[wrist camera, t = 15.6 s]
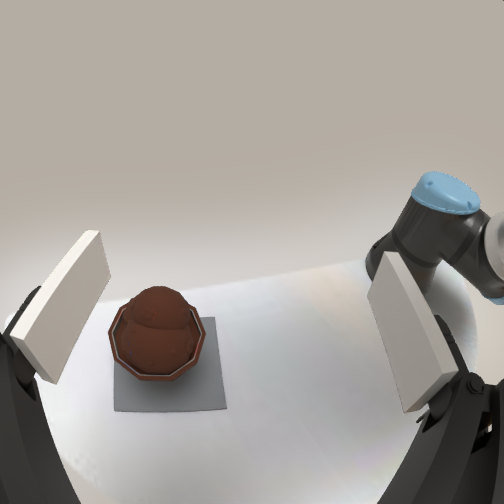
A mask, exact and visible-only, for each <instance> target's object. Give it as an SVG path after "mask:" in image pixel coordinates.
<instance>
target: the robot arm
mask: <svg viewBox="0 0 504 504" xmlns="http://www.w3.org/2000/svg"><path fill="white" fill-rule="evenodd" d="M503 1H504V0H503ZM442 259H443V260H444V261H446V262H447V263H448V264H449V265H450V266H452V267H453V268H454V269H455V270H456V271H458V272H459V273H460V274H461V275H462V276H463V277H464V278H466V279H467V280H468V281H469V282H470V283H471V284H472V285H473V286H475V287H476V288H477V289H478V290H479V291H480V293H481V294H482V295H483V296H484V297H485V298H487V299H489V300H490V301H491V302H493V303H494V304H497V305H504V212H500V213H497V214H495V215H494V216H493V217H492V218H491V217H489V216H488V215H487V214H486V213H485V212H483V211H482V210H481V209H480V199H479V197H478V195H477V194H476V193H475V192H474V191H473V190H471V188H470V187H469V186H468V185H466V184H465V183H463V182H462V181H460V180H459V179H457V178H455V177H453V176H450V175H448V174H445V173H441V172H435V171H434V172H428V173H425V174H424V175H423V176H422V177H421V178H420V180H419V182H418V183H417V185H416V187H415V188H414V189H413V190H412V192H411V197H410V198H409V200H408V202H407V204H406V206H405V208H404V209H403V211H402V213H401V215H400V216H399V218H398V220H397V222H396V223H395V225H394V227H393V229H392V230H391V231H390V232H389V233H387V234H386V235H385V236H384V237H382V238H381V239H380V240H379V241H377V242H376V243H375V244H374V245H373V246H372V248H371V249H370V251H369V253H368V254H367V257H366V268H367V271H368V274H369V276H370V278H371V280H372V281H373V282H372V285H371V287H370V290H369V292H368V295H367V297H368V300H369V303H370V305H371V308H372V311H373V314H374V316H375V319H376V322H377V325H378V328H379V331H380V334H381V337H382V340H383V343H384V346H385V349H386V352H387V355H388V358H389V361H390V365H391V368H392V371H393V375H394V378H395V382H396V385H397V389H398V392H399V396H400V400H401V403H402V407H403V411H404V413H407V412H412V411H417V410H420V409H421V408H422V407H423V406H425V405H426V404H427V403H428V405H429V408H430V409H429V410H428V411H426V412H425V413H424V414H423V415H422V416H421V417H420V418H418V420H417V421H416V422H417V423H419V422H420V421H421V420H422V419H423V421H422V423H421V425H420V427H419V430H418V432H417V434H416V436H415V438H414V440H413V442H412V444H411V446H410V448H409V450H408V452H407V454H406V456H405V458H404V460H403V462H402V463H401V465H400V467H399V469H398V471H397V472H396V474H395V476H394V478H393V479H392V481H391V483H390V484H389V486H388V487H387V489H386V491H385V492H384V494H383V495H382V497H381V498H380V500H379V501H378V503H377V504H504V379H503V380H501V381H500V382H499V383H498V384H497V385H489V384H485V383H484V381H483V380H482V378H481V377H479V376H478V375H477V374H475V373H472V372H470V373H469V371H468V369H467V366H466V364H465V362H464V359H463V357H462V355H461V353H460V351H459V348H458V346H457V344H456V343H455V340H454V338H453V336H452V335H451V332H450V330H449V328H448V326H447V324H446V323H445V322H444V321H443V319H442V318H441V317H440V316H439V315H433V314H432V312H431V310H430V308H429V306H428V304H427V302H426V300H425V298H424V297H423V295H424V294H425V293H426V292H427V291H428V289H429V287H430V283H431V281H432V278H433V276H434V273H435V270H436V267H437V266H438V264H439V263H440V262H441V260H442ZM110 278H111V275H110V271H109V267H108V263H107V260H106V256H105V252H104V248H103V244H102V240H101V235H100V231H91V230H86V232H85V233H84V234H83V235H82V236H81V237H80V239H79V240H78V241H77V242H76V243H75V244H74V246H73V247H72V248H71V249H70V250H69V252H68V253H67V254H66V255H65V257H64V258H63V259H62V260H61V262H60V263H59V264H58V265H57V267H56V268H55V269H54V271H53V272H52V273H51V274H50V276H49V277H48V278H47V280H46V281H45V282H44V284H43V285H42V286H38V287H37V288H36V289H34V290H33V291H32V292H31V293H30V294H29V295H28V297H27V298H26V300H25V301H24V303H23V304H22V306H21V307H20V309H19V310H18V311H17V313H16V314H15V316H14V317H13V319H12V320H11V322H10V323H9V325H8V327H7V328H6V330H5V331H4V333H3V334H1V333H0V504H81V503H80V501H79V499H78V497H77V495H76V493H75V491H74V489H73V487H72V485H71V483H70V480H69V478H68V476H67V474H66V471H65V469H64V467H63V465H62V462H61V460H60V457H59V454H58V452H57V449H56V446H55V444H54V441H53V438H52V435H51V432H50V429H49V426H48V423H47V420H46V416H45V413H44V409H43V406H42V402H41V398H40V394H39V390H38V386H37V382H36V380H35V378H34V375H35V373H36V372H37V373H38V374H39V376H40V377H41V378H42V379H43V380H45V381H48V382H50V383H53V384H56V385H57V383H58V380H59V378H60V376H61V374H62V371H63V369H64V367H65V365H66V362H67V360H68V358H69V356H70V354H71V352H72V350H73V348H74V346H75V343H76V341H77V339H78V337H79V335H80V333H81V331H82V329H83V327H84V325H85V324H86V322H87V320H88V318H89V316H90V314H91V312H92V310H93V308H94V307H95V305H96V303H97V301H98V299H99V297H100V296H101V294H102V292H103V290H104V289H105V287H106V285H107V283H108V282H109V280H110ZM491 424H492V431H490V432H488V427H489V426H490V425H491Z"/></svg>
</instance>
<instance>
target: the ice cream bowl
mask: <svg viewBox="0 0 504 504" xmlns="http://www.w3.org/2000/svg"><path fill="white" fill-rule="evenodd" d="M108 335H109V340H110V344H111V349H112V353H113V357H114V360H115V361H116V362H117V363H119V364H120V365H121V366H122V367H123V368H125V369H126V370H127V371H129V372H130V373H131V374H132V375H134V376H135V377H136V378H138V379H139V380H141V381H174V380H175V379H177V378H178V377H180V376H181V375H183V374H184V373H185V372H186V371H188V370H189V369H191V368H192V367H194V366H195V365H196V364H197V362H198V359H199V356H200V352H201V349H202V346H203V343H204V339H205V336H206V332H205V329H204V327H203V325H202V322H201V320H200V317H199V315H198V313H197V310H196V308H195V307H193V306H191V305H190V304H188V302H187V301H186V300H185V299H184V297H183V296H182V295H181V294H180V293H179V292H177V291H175V290H173V289H170V288H168V287H165V286H153V287H151V288H148V289H145V290H143V291H142V292H141V293H140V294H138V295H137V296H136V297H135V298H132V299H131V300H130V301H129V302H128V303H127V304H125V305H123V306H122V307H120V308H119V310H118V312H117V314H116V316H115V318H114V320H113V322H112V325H111V327H110V329H109V331H108Z"/></svg>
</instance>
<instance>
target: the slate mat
mask: <svg viewBox="0 0 504 504" xmlns="http://www.w3.org/2000/svg"><path fill="white" fill-rule="evenodd" d="M200 320H201V322H202V325H203V327H204V329H205V332H206V336H205V339H204V343H203V346H202V349H201V352H200V356H199V359H198V362H197V364H196V365H195V366H194V367H192V368H191V369H189V370H188V371H186V372H185V373H184V374H183V375H181V376H180V377H178V378H177V379H175V380H174V381H141V380H139V379H138V378H136V377H135V376H134V375H132V374H131V373H130V372H129V371H127V370H126V369H125V368H123V367H122V366H121V365H120V364H119V363H117V362H116V361H115V360H114V411H125V412H186V411H204V410H218V409H226V408H227V407H226V400H225V393H224V386H223V379H222V372H221V365H220V357H219V349H218V341H217V333H216V325H215V317H201V318H200Z"/></svg>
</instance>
